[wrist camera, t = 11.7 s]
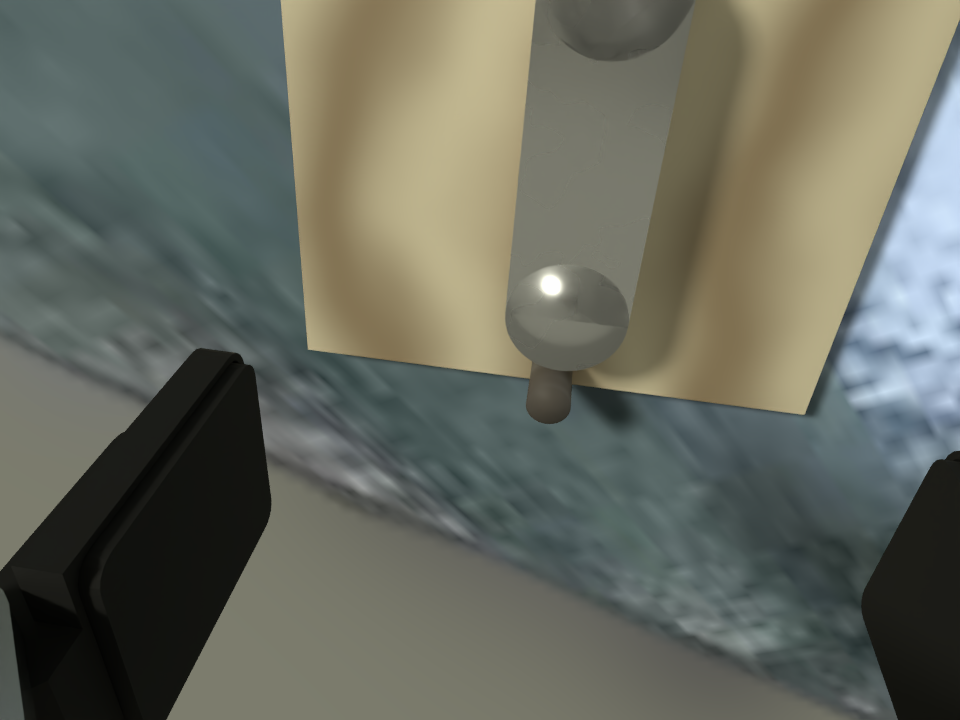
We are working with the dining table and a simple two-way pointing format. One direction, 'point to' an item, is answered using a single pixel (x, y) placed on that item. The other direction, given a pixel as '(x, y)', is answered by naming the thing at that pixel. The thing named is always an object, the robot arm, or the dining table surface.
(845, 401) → the dining table surface
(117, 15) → the dining table surface
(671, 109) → the grey capsule bar
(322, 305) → the board
